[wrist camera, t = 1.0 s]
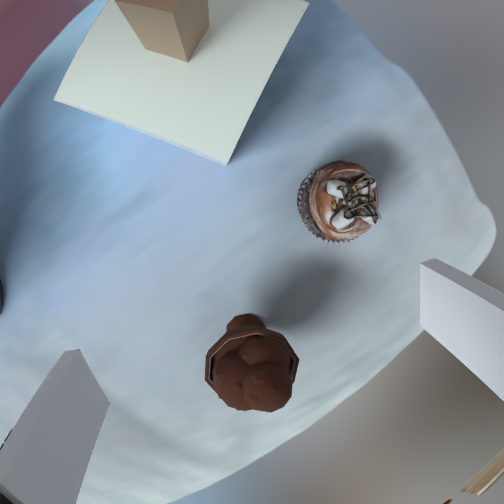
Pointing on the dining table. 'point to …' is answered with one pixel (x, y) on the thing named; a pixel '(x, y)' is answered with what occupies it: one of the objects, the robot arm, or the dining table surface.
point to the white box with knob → (180, 67)
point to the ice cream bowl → (251, 366)
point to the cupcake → (338, 201)
